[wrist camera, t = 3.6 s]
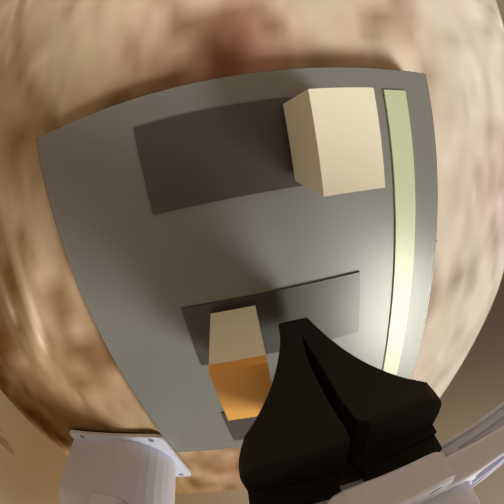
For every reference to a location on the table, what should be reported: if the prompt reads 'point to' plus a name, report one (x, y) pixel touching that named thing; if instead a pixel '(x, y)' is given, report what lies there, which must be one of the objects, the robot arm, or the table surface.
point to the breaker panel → (249, 225)
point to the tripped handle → (238, 362)
